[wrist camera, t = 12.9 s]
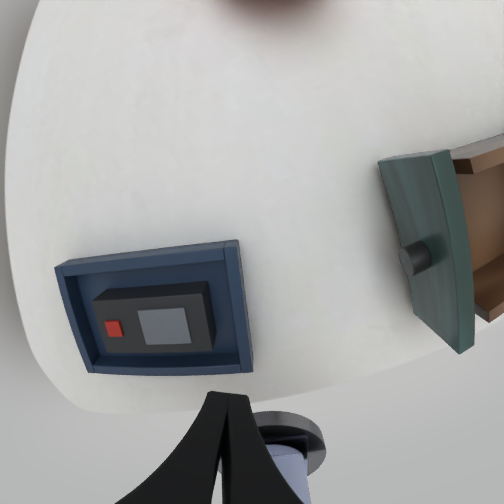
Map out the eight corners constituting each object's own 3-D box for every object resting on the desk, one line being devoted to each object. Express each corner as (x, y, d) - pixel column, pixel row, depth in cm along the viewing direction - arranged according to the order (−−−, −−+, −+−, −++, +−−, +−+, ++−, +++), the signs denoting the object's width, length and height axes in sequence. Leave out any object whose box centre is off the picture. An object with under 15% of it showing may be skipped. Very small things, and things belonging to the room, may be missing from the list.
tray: (238, 239, 18) (236, 246, 16) (253, 355, 19) (253, 372, 17) (69, 259, 18) (53, 267, 16) (98, 359, 20) (87, 372, 18)
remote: (216, 333, 18) (212, 353, 16) (119, 337, 19) (105, 354, 16) (207, 280, 18) (201, 294, 15) (106, 288, 18) (89, 302, 15)
